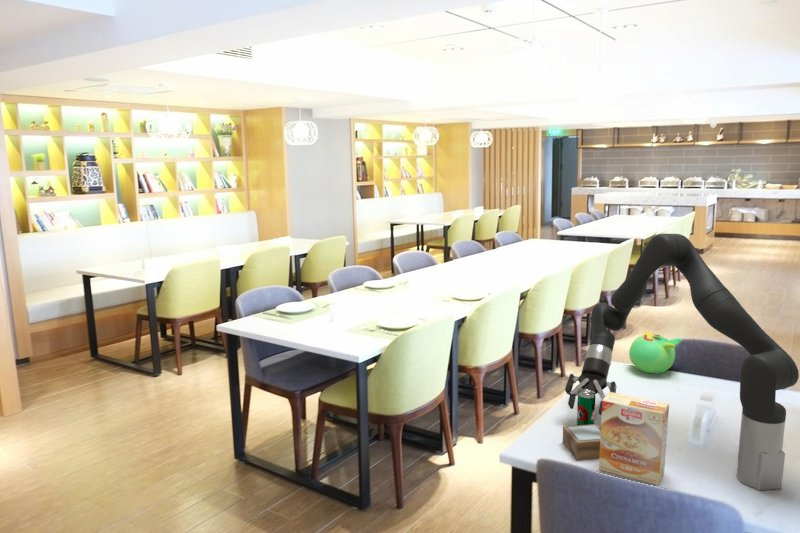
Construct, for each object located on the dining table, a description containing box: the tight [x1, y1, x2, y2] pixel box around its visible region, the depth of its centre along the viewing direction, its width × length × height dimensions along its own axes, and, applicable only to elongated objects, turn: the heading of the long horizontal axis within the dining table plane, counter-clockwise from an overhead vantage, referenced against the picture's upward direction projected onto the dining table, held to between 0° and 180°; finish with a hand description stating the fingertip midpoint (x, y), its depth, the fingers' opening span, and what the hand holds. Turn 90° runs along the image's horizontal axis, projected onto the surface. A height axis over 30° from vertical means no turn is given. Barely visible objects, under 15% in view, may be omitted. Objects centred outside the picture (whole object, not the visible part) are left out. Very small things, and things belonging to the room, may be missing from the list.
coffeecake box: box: [598, 391, 670, 486], centre depth 156 cm, size 15×7×20 cm, turn 56°
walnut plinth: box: [562, 423, 601, 461], centre depth 170 cm, size 10×10×5 cm
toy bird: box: [628, 331, 683, 374], centre depth 227 cm, size 18×17×15 cm
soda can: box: [576, 389, 597, 426], centre depth 181 cm, size 5×5×12 cm
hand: (585, 410), depth 181 cm, fingers open, 8 cm apart
